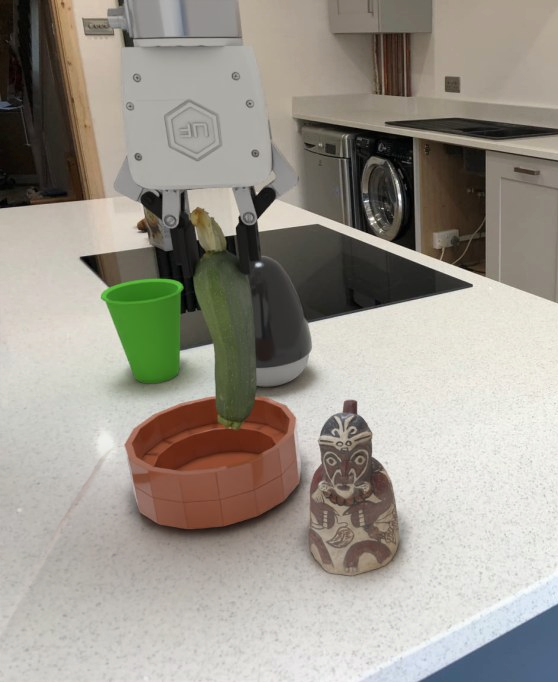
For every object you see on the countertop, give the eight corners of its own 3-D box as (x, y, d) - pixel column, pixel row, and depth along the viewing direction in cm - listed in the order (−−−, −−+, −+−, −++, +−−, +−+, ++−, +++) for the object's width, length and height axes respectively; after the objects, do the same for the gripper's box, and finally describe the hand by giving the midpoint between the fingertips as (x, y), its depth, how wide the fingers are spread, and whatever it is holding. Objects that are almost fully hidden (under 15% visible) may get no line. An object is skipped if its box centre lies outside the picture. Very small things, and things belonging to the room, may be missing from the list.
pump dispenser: (212, 376, 90) (195, 255, 84) (289, 354, 96) (278, 240, 90) (249, 405, 82) (233, 274, 77) (330, 379, 88) (320, 257, 83)
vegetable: (255, 413, 68) (225, 196, 60) (277, 430, 65) (249, 203, 57) (209, 429, 65) (172, 204, 58) (230, 447, 62) (193, 212, 54)
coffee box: (147, 243, 152) (134, 164, 146) (178, 238, 155) (166, 161, 150) (164, 252, 145) (151, 169, 139) (196, 246, 149) (184, 165, 143)
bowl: (117, 544, 59) (103, 480, 57) (159, 454, 72) (149, 400, 70) (295, 529, 61) (288, 466, 59) (305, 444, 74) (300, 390, 72)
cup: (100, 385, 87) (82, 298, 83) (151, 357, 95) (136, 276, 91) (164, 395, 85) (148, 305, 81) (210, 364, 93) (198, 281, 89)
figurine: (296, 570, 56) (281, 431, 52) (326, 515, 63) (315, 388, 58) (387, 579, 55) (380, 438, 51) (407, 523, 62) (402, 394, 57)
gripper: (44, 25, 48) (98, 291, 55) (301, 22, 50) (323, 280, 57) (82, 28, 55) (126, 264, 62) (307, 25, 57) (326, 255, 64)
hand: (220, 269), depth 59 cm, fingers closed on vegetable, 3 cm apart
